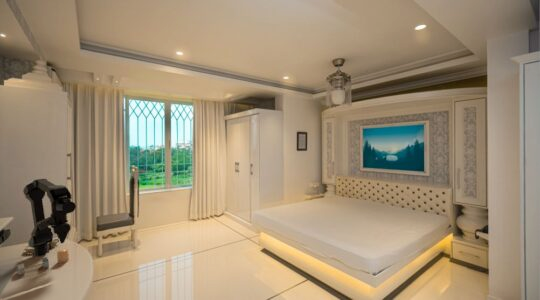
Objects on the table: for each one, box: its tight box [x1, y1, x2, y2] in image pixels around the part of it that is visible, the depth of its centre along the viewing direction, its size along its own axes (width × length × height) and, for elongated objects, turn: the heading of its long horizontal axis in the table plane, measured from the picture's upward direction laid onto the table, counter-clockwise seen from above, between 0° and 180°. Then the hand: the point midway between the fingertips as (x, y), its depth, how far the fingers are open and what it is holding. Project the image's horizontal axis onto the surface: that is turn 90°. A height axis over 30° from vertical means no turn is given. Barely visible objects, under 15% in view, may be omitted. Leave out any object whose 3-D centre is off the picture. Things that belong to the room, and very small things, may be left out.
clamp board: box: [18, 262, 50, 280], centre depth 118 cm, size 12×10×1 cm
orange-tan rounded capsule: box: [56, 248, 70, 264], centre depth 126 cm, size 4×4×6 cm
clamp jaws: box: [17, 256, 50, 278], centre depth 118 cm, size 6×10×4 cm, turn 137°
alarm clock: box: [23, 238, 60, 253], centre depth 144 cm, size 11×5×15 cm
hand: (61, 240), depth 125 cm, fingers open, 9 cm apart
